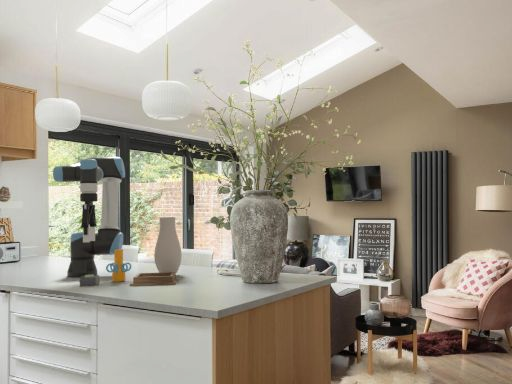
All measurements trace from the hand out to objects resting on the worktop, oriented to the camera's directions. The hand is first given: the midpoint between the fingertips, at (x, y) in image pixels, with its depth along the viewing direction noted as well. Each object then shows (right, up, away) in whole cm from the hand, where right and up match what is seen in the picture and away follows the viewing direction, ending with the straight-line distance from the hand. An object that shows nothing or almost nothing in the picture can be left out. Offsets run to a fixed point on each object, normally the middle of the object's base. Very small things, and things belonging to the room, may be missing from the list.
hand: (89, 241), depth 233 cm
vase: (+31, -20, +30) cm, 48 cm away
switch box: (0, -20, -1) cm, 20 cm away
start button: (0, -18, -1) cm, 18 cm away
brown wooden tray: (+29, -19, +5) cm, 35 cm away
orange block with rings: (+10, -20, +12) cm, 26 cm away
